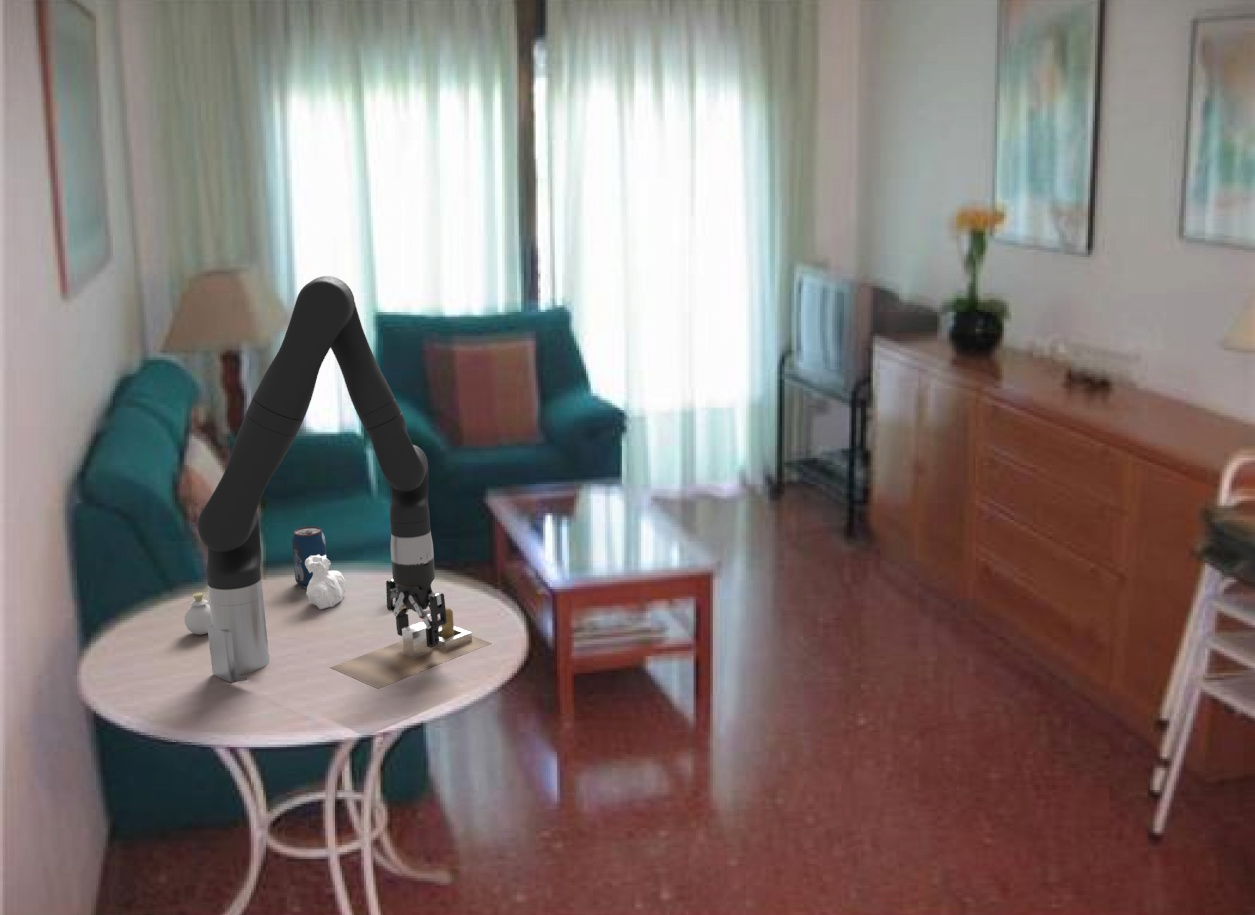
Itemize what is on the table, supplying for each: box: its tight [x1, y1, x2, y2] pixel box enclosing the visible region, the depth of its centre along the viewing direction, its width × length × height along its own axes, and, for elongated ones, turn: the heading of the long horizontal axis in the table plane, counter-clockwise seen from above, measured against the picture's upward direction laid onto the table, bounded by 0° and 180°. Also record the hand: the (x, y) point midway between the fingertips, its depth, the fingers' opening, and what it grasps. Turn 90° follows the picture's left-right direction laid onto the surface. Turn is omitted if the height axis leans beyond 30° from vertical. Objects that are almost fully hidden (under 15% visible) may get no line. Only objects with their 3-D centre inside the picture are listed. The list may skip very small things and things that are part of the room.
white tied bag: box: [305, 554, 347, 610], centre depth 267 cm, size 12×8×11 cm
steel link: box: [401, 621, 473, 658], centre depth 239 cm, size 12×6×5 cm, turn 138°
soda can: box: [291, 526, 328, 589], centre depth 277 cm, size 7×7×12 cm
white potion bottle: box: [184, 585, 212, 636], centre depth 251 cm, size 6×7×10 cm
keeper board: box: [330, 607, 492, 690], centre depth 235 cm, size 26×14×8 cm, turn 137°
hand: (418, 640), depth 236 cm, fingers open, 8 cm apart
